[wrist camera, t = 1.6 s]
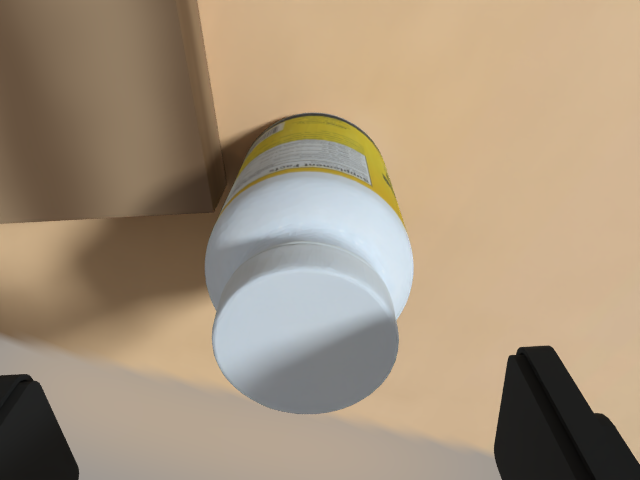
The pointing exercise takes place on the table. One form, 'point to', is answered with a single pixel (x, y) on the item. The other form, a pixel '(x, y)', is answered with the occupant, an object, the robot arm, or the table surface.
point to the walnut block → (105, 111)
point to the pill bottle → (309, 268)
